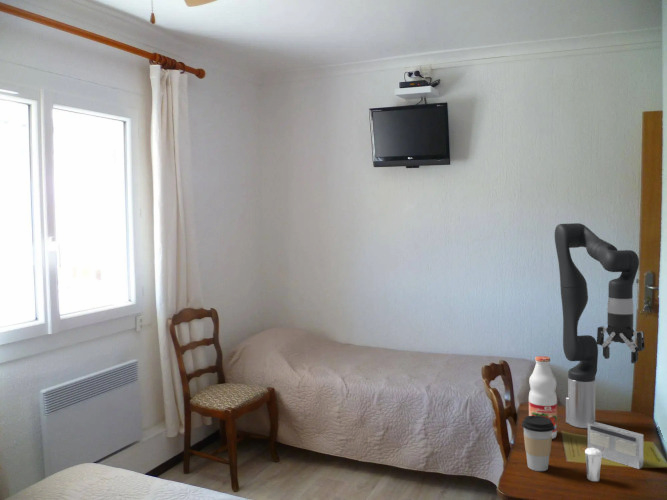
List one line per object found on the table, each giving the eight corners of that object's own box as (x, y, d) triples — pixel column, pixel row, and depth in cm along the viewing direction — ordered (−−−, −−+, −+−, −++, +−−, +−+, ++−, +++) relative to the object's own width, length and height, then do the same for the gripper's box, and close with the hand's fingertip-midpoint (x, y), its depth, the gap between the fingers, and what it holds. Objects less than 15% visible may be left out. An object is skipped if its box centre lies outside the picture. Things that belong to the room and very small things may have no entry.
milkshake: (606, 483, 163) (606, 449, 162) (587, 482, 164) (587, 448, 163) (602, 476, 167) (602, 443, 167) (583, 475, 168) (583, 442, 168)
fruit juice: (552, 430, 204) (552, 354, 203) (560, 440, 195) (560, 360, 193) (525, 429, 205) (525, 354, 204) (532, 439, 196) (532, 360, 194)
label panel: (587, 453, 184) (587, 423, 183) (592, 450, 186) (592, 420, 185) (638, 469, 171) (638, 437, 171) (643, 466, 173) (643, 434, 173)
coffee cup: (530, 458, 181) (530, 412, 180) (559, 467, 174) (559, 419, 173) (516, 467, 174) (516, 420, 173) (545, 477, 167) (545, 427, 167)
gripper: (648, 312, 180) (648, 362, 180) (603, 307, 191) (603, 355, 191) (638, 315, 175) (637, 366, 176) (593, 310, 186) (592, 358, 187)
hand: (620, 360), depth 184 cm, fingers open, 8 cm apart
